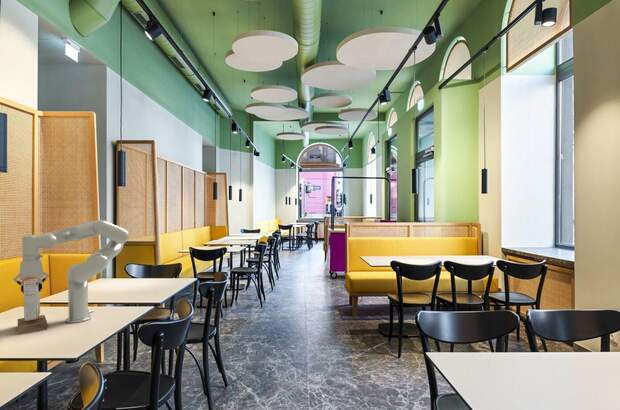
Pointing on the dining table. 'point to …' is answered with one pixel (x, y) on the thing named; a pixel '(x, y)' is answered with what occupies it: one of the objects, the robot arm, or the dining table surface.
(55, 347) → the dining table surface
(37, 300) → the cracker box
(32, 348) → the dining table surface
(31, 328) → the walnut block
